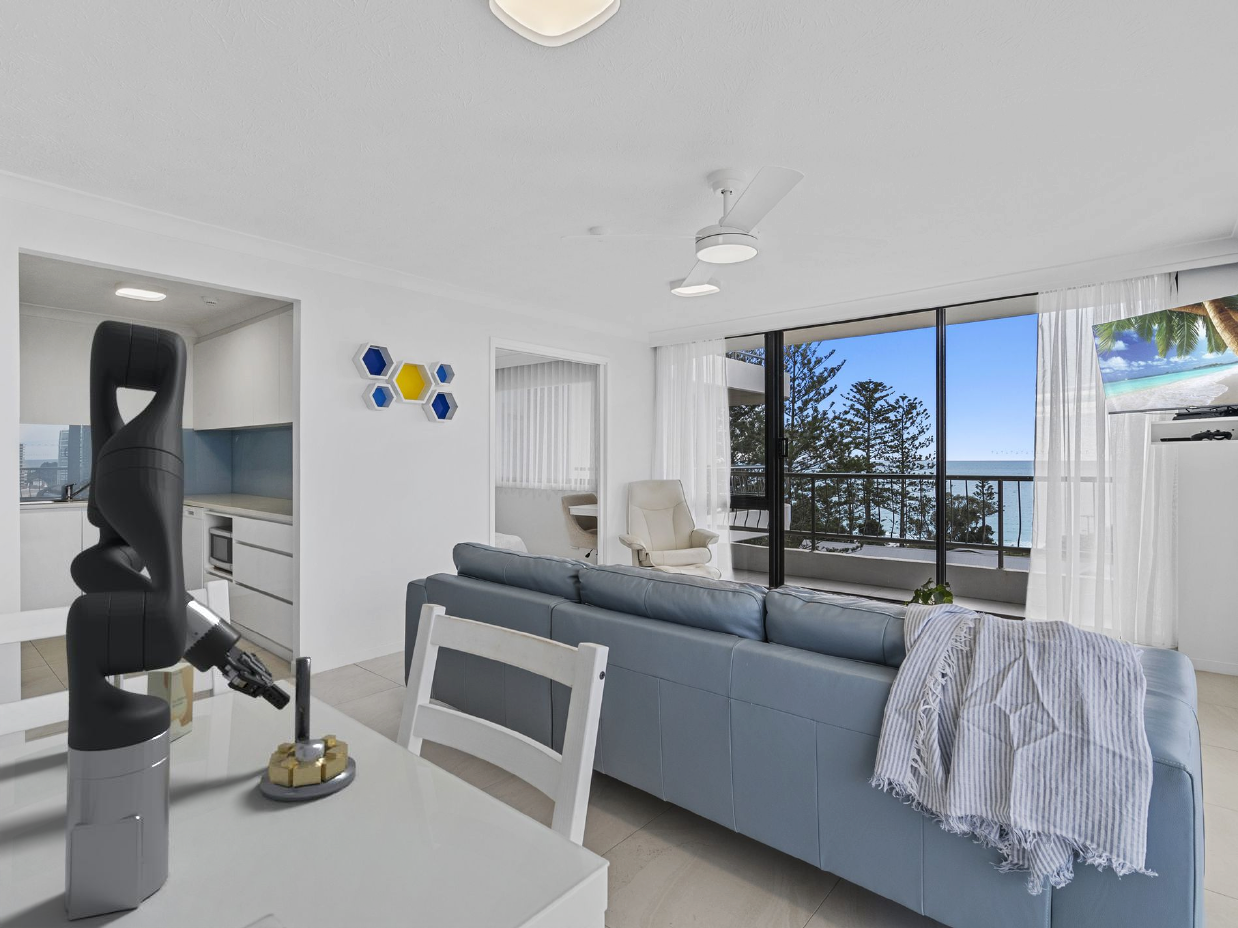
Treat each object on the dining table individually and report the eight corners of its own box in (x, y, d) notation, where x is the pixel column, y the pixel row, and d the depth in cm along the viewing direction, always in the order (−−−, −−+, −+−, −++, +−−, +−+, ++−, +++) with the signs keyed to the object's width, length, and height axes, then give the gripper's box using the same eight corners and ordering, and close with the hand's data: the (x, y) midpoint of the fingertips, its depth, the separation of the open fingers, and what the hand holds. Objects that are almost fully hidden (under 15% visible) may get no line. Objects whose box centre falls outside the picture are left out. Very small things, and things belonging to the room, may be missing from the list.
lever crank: (346, 778, 97) (347, 681, 97) (265, 790, 93) (266, 689, 93) (348, 736, 112) (349, 652, 112) (278, 745, 108) (279, 658, 109)
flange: (355, 793, 96) (355, 755, 96) (254, 809, 92) (254, 769, 92) (355, 757, 109) (356, 723, 109) (266, 769, 104) (267, 734, 104)
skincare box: (169, 743, 113) (170, 672, 113) (144, 743, 113) (145, 671, 114) (194, 729, 120) (195, 661, 120) (170, 729, 120) (171, 661, 120)
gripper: (210, 625, 98) (301, 698, 103) (227, 608, 111) (307, 674, 115) (168, 665, 96) (262, 737, 101) (189, 643, 109) (272, 708, 113)
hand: (285, 703), depth 108 cm, fingers closed
